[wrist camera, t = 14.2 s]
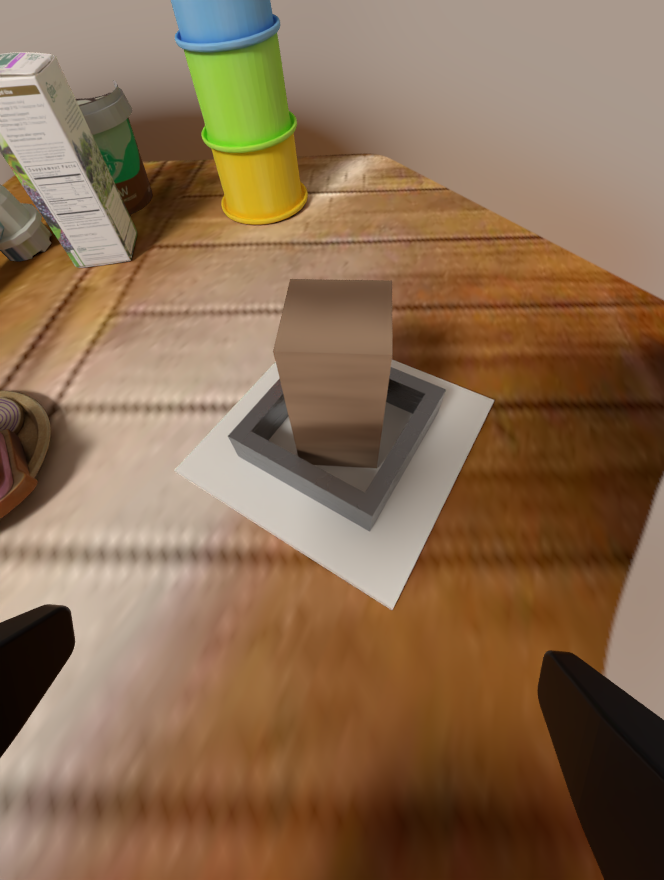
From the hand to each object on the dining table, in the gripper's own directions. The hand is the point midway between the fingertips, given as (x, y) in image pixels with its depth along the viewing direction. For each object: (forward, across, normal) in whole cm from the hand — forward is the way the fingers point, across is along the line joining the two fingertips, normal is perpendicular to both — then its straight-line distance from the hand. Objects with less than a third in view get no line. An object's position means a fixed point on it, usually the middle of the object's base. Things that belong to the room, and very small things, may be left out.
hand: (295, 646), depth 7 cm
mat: (+19, 0, 0) cm, 19 cm away
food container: (+42, +29, -22) cm, 55 cm away
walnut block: (+19, 0, 0) cm, 19 cm away
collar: (+19, 0, 0) cm, 19 cm away
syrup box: (+35, +27, -16) cm, 47 cm away
